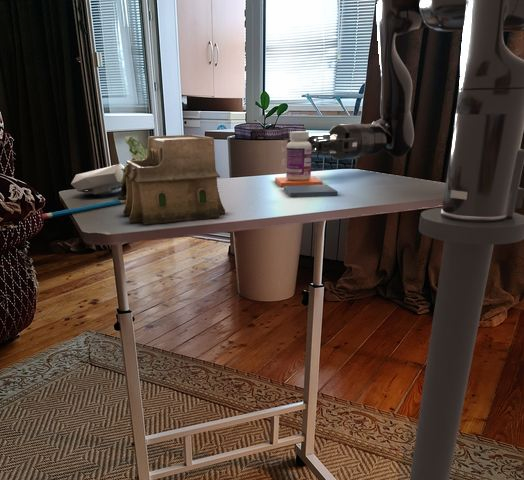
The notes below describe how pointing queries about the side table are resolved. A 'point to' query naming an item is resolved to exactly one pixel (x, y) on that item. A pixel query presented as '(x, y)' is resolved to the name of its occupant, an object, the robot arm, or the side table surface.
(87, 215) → the side table surface
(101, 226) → the side table surface
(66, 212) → the pencil
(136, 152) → the terrain
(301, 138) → the pill bottle
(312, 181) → the terracotta pad
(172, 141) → the miniature house
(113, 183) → the turret
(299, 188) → the slate pad
